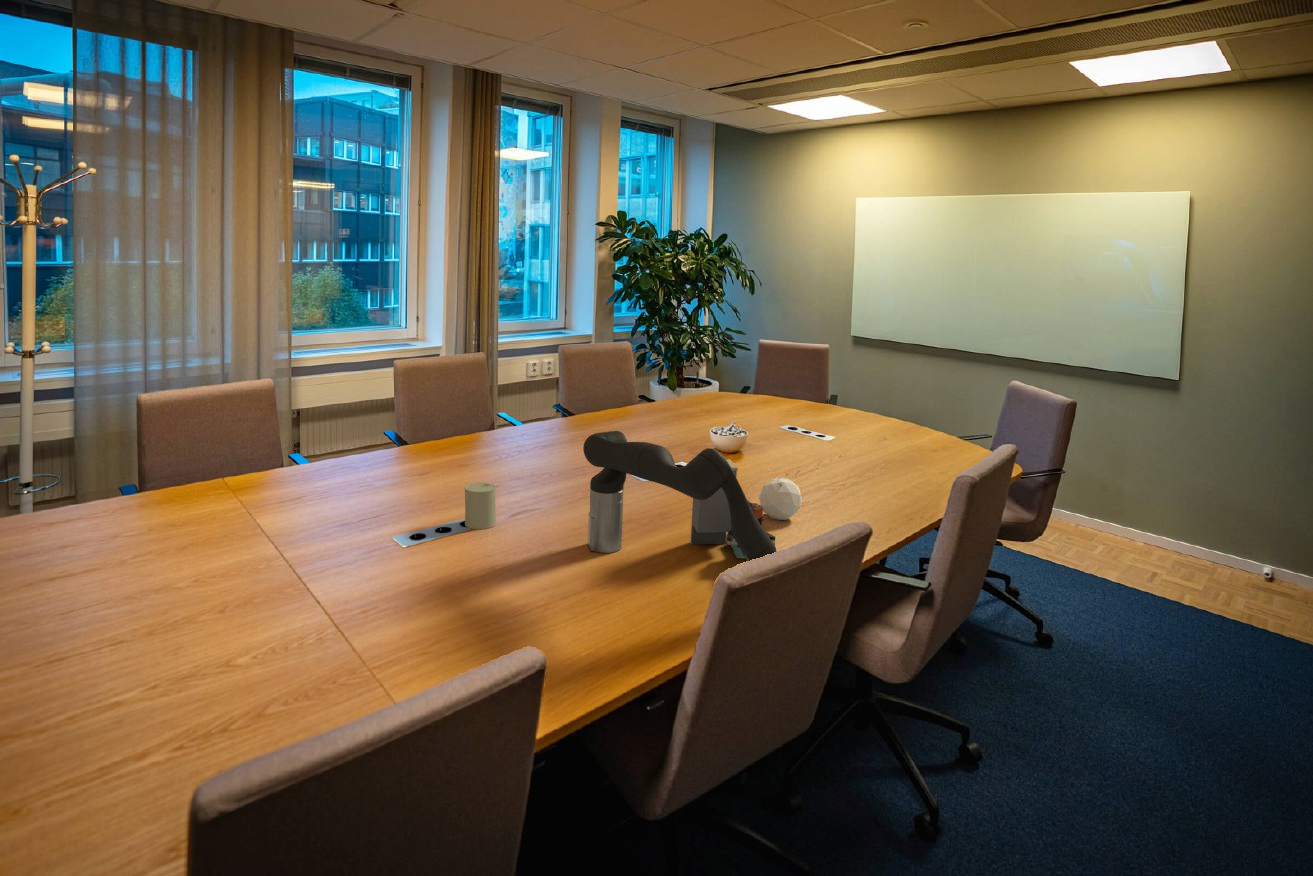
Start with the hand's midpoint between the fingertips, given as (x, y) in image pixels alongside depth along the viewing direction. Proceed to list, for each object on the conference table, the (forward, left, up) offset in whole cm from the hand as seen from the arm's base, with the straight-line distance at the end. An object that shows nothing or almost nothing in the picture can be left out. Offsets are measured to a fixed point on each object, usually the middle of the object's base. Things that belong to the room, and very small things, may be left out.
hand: (741, 529), depth 223 cm
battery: (+7, +16, -8) cm, 19 cm away
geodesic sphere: (+21, +29, -8) cm, 36 cm away
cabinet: (-7, +6, -7) cm, 12 cm away
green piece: (0, +1, -7) cm, 7 cm away
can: (-72, +29, -8) cm, 78 cm away
